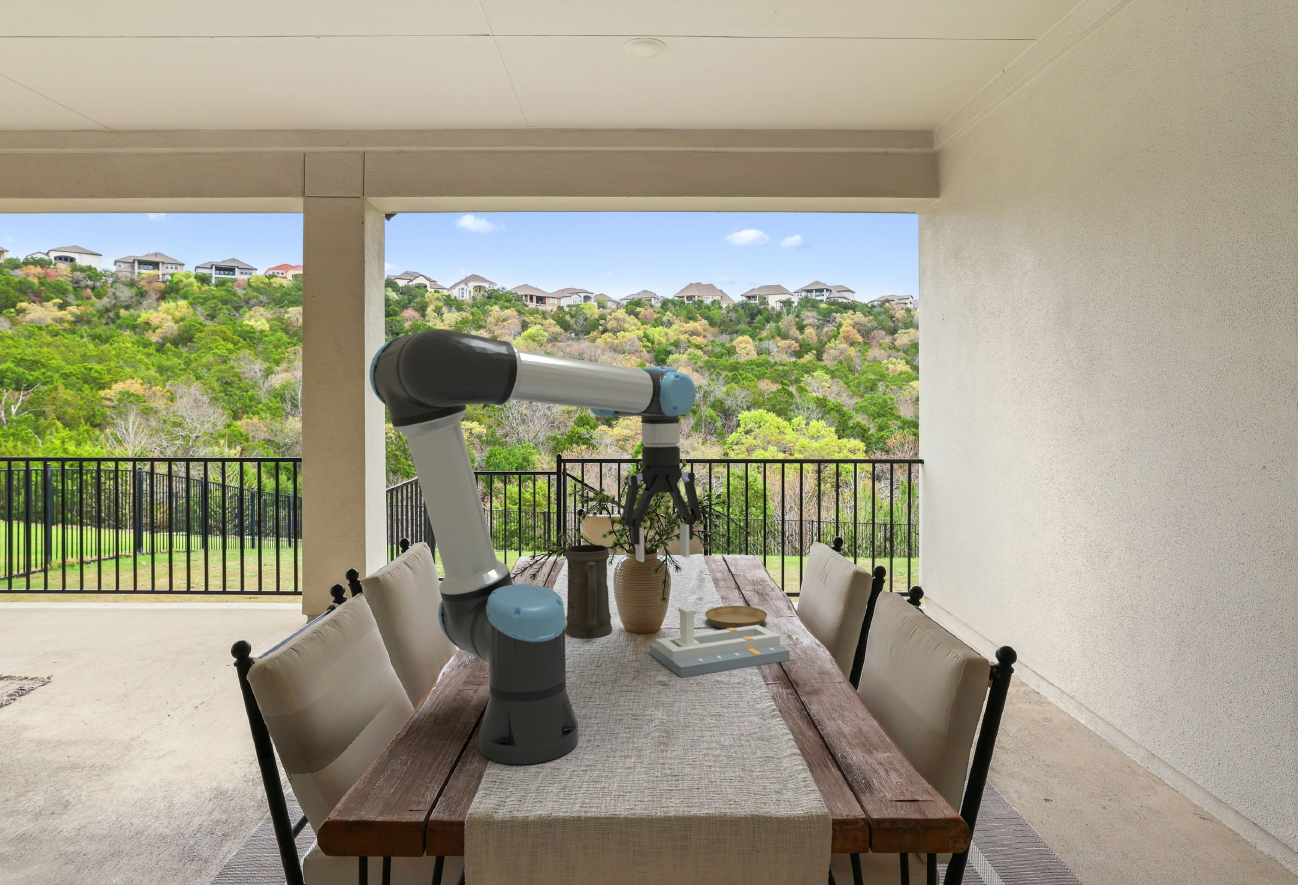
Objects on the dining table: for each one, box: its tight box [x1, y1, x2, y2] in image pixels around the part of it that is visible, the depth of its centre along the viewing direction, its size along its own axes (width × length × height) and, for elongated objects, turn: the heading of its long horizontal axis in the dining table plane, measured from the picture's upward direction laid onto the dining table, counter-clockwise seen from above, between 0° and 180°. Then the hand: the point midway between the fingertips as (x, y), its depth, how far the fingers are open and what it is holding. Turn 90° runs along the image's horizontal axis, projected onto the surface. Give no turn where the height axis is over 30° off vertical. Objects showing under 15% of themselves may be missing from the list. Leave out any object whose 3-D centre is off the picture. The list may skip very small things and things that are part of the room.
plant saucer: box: [704, 605, 768, 630], centre depth 180 cm, size 15×15×3 cm
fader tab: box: [674, 606, 700, 647], centre depth 153 cm, size 4×4×8 cm
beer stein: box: [565, 544, 613, 639], centre depth 172 cm, size 15×11×20 cm
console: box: [649, 624, 791, 679], centre depth 156 cm, size 16×24×4 cm, turn 112°
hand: (662, 558), depth 150 cm, fingers open, 9 cm apart
